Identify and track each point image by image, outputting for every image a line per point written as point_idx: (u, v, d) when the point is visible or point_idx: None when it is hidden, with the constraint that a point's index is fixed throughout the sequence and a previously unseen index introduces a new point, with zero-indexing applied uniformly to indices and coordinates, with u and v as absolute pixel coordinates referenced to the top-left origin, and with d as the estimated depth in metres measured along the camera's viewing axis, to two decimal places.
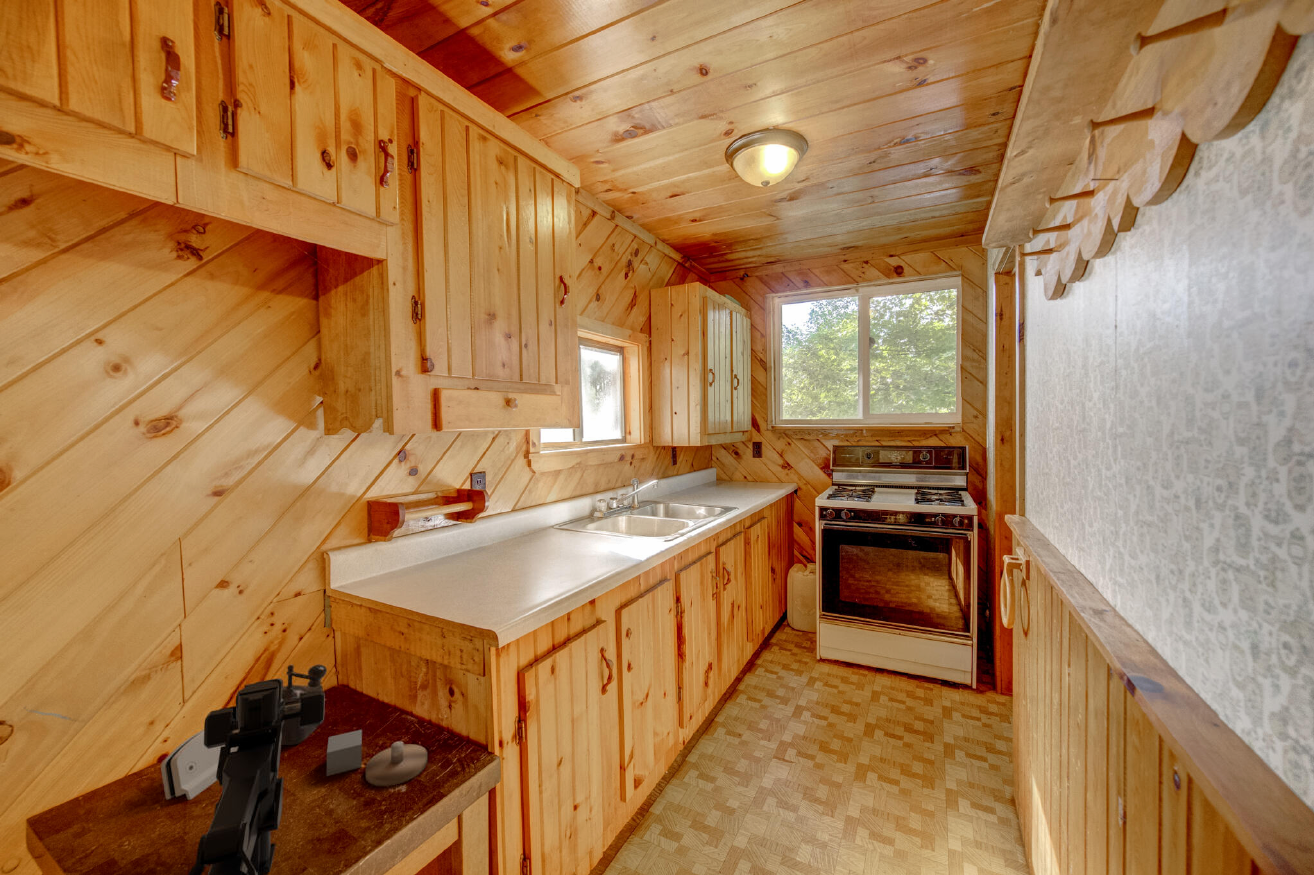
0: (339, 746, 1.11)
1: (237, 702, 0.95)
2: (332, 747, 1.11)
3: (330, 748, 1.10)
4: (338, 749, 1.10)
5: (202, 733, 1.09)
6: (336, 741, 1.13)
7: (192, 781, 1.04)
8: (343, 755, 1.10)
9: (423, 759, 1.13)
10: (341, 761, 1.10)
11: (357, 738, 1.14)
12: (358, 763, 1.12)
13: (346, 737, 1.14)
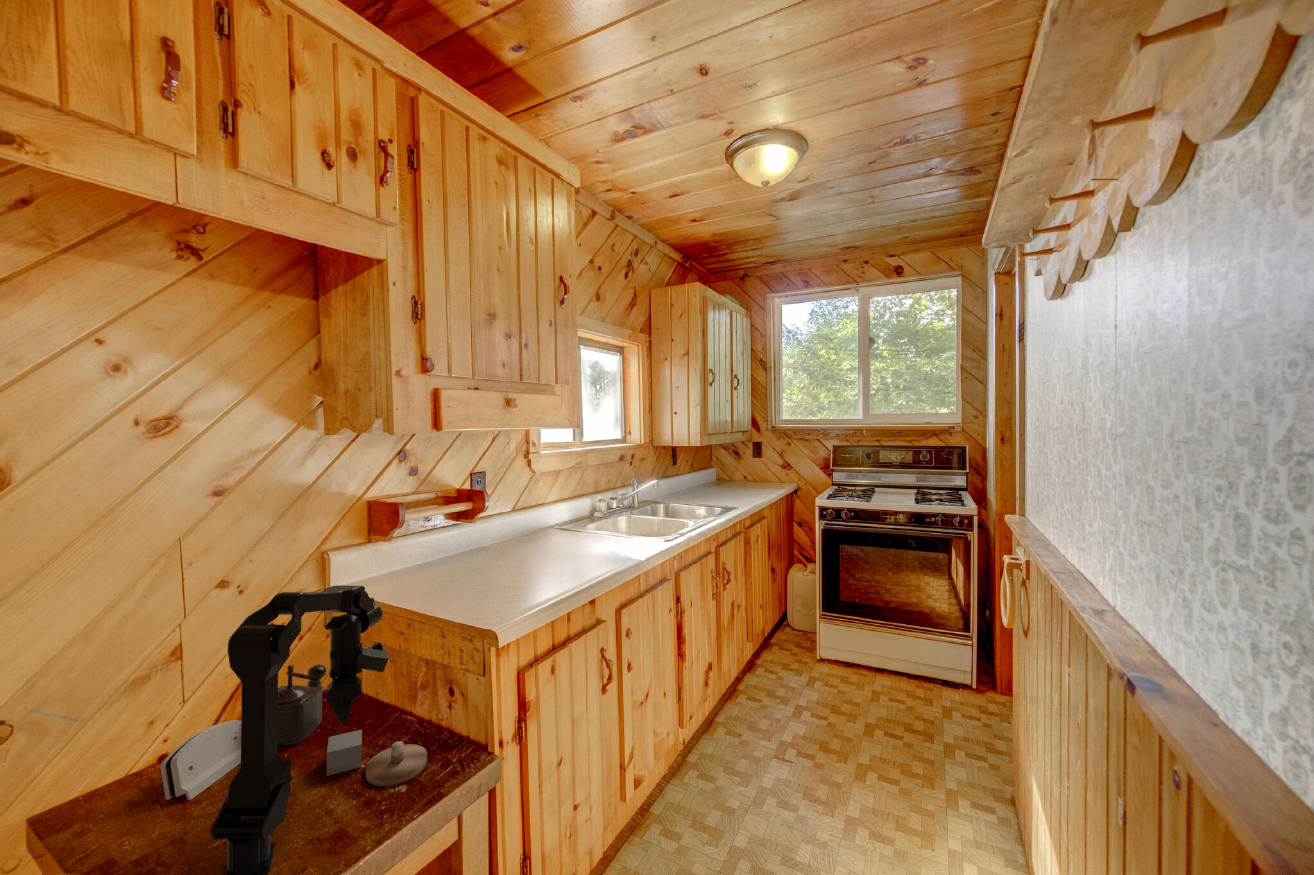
0: (339, 746, 1.11)
1: (377, 642, 1.20)
2: (332, 747, 1.11)
3: (330, 748, 1.10)
4: (338, 749, 1.10)
5: (202, 733, 1.09)
6: (336, 741, 1.13)
7: (192, 781, 1.04)
8: (343, 755, 1.10)
9: (423, 759, 1.13)
10: (341, 761, 1.10)
11: (357, 738, 1.14)
12: (358, 763, 1.12)
13: (346, 737, 1.14)
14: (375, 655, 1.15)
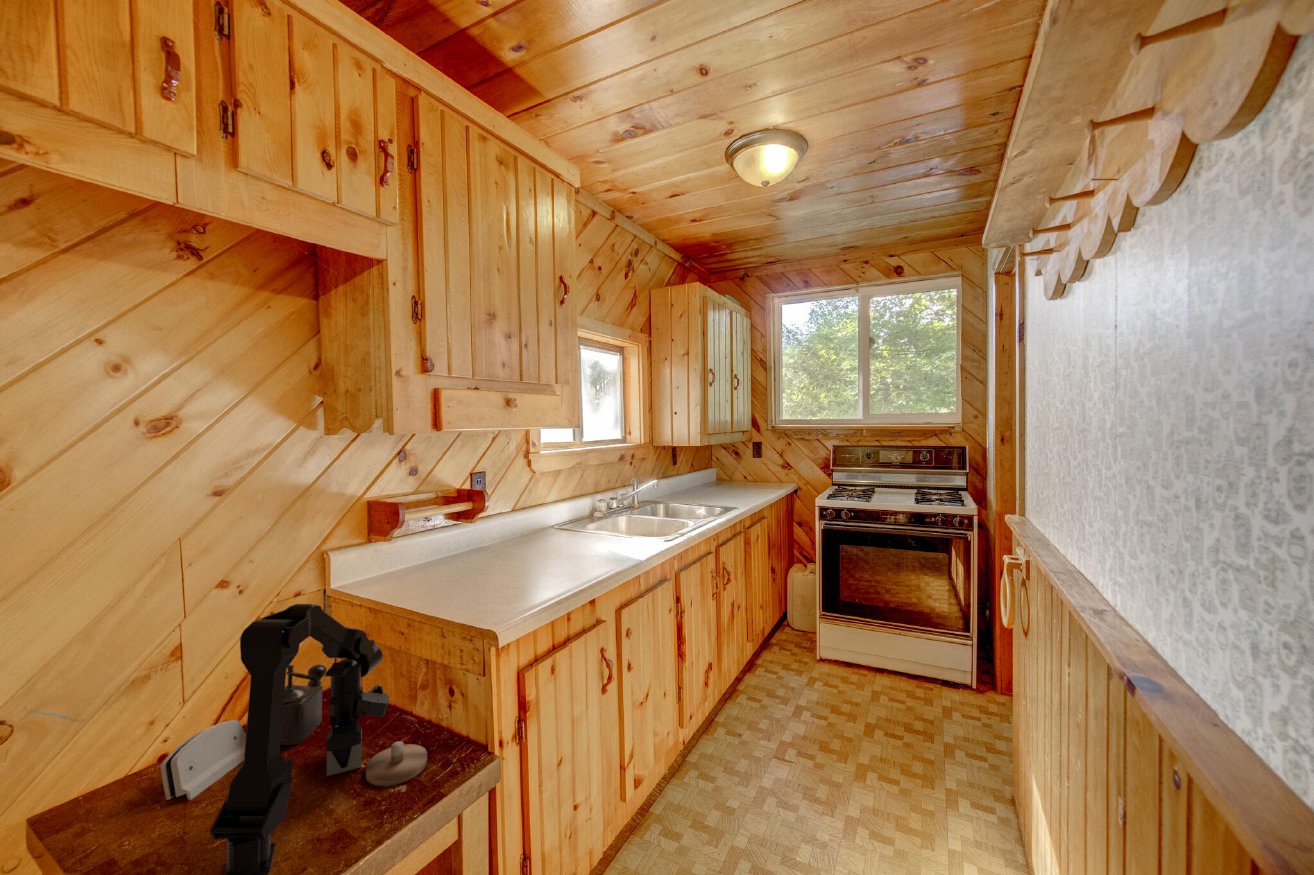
0: None
1: (377, 685, 1.20)
2: None
3: None
4: None
5: (201, 733, 1.09)
6: None
7: (192, 781, 1.03)
8: None
9: (423, 759, 1.13)
10: None
11: None
12: (358, 763, 1.12)
13: None
14: (375, 700, 1.15)
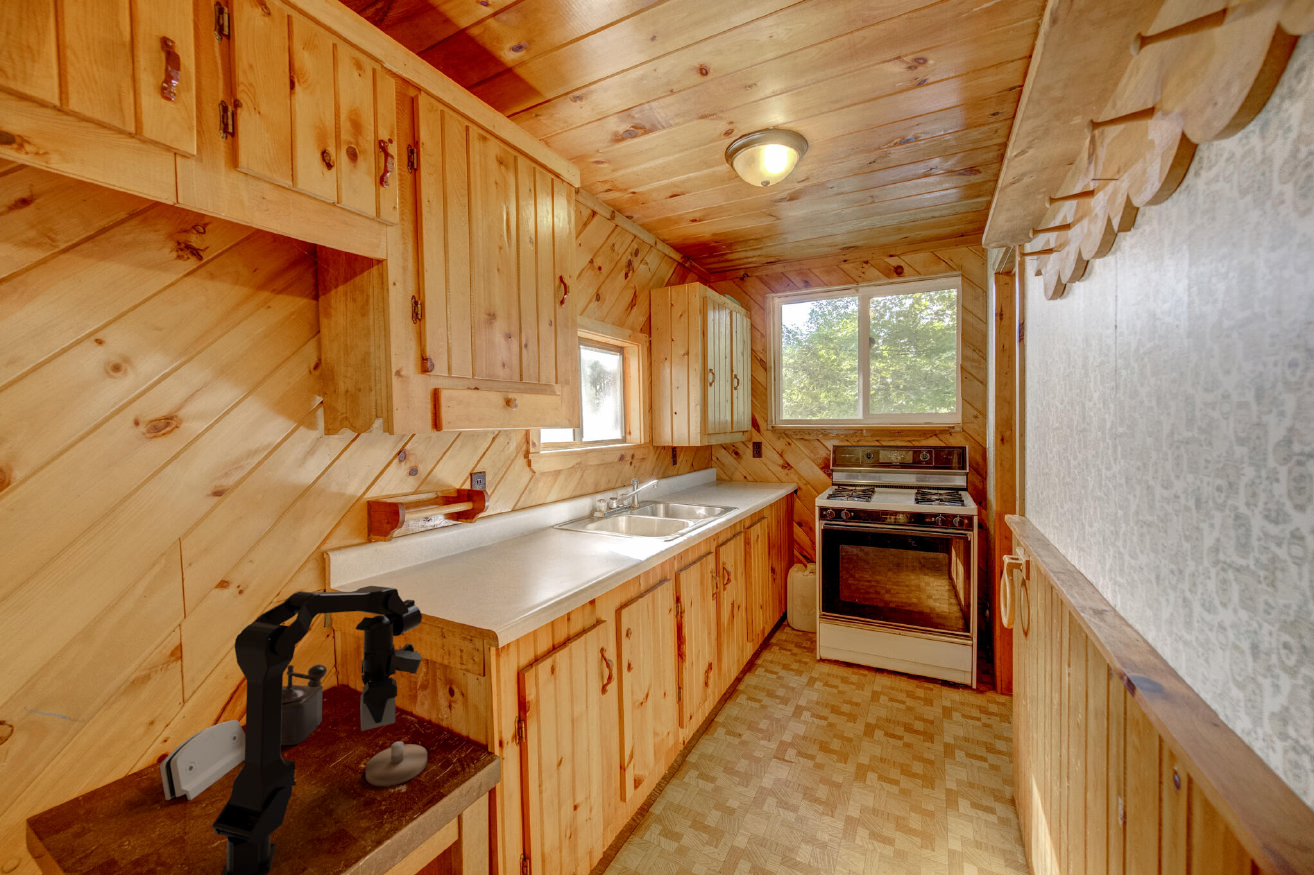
0: None
1: (407, 644, 1.19)
2: None
3: None
4: None
5: (201, 734, 1.09)
6: None
7: (192, 781, 1.03)
8: None
9: (423, 759, 1.13)
10: None
11: None
12: (392, 719, 1.11)
13: None
14: (408, 656, 1.14)
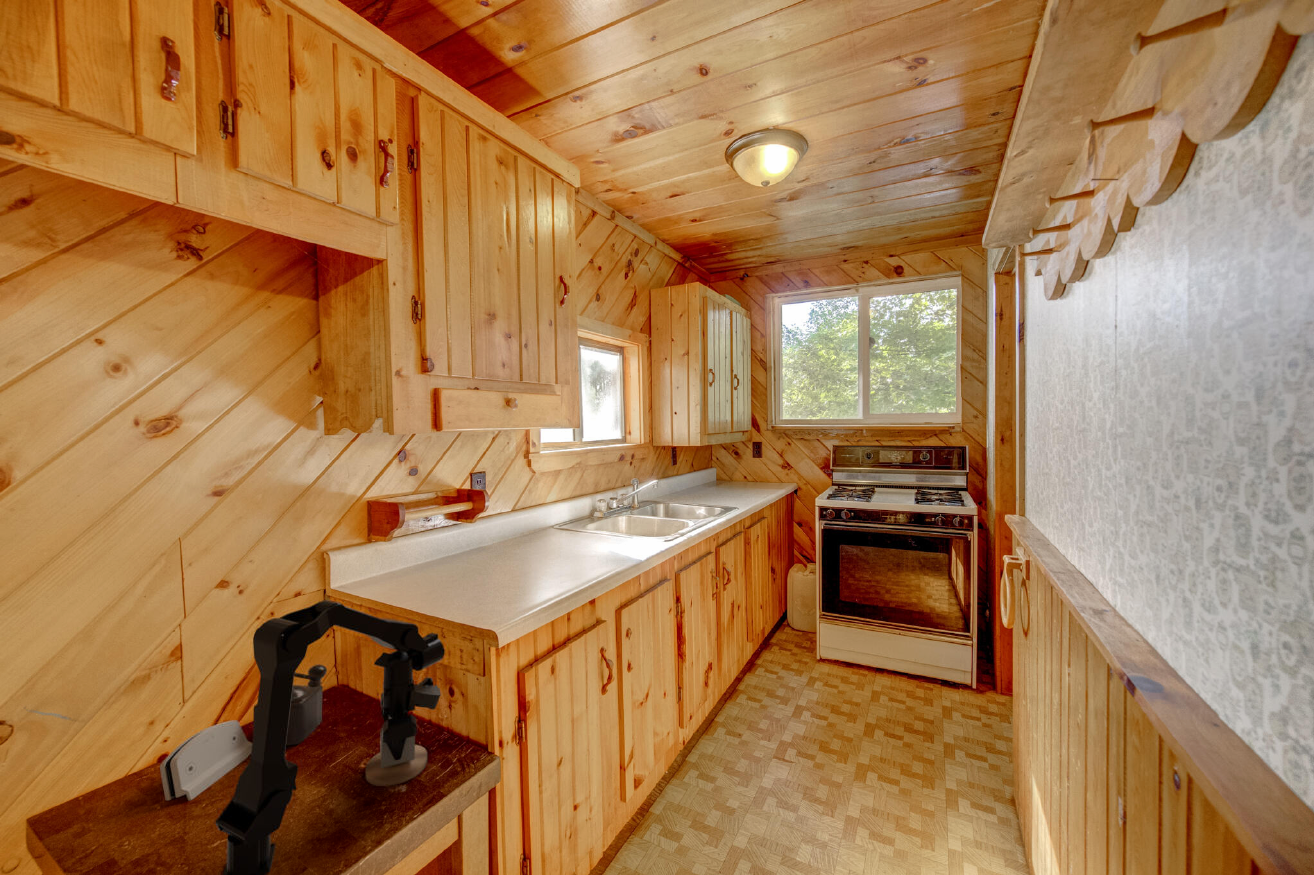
0: None
1: (427, 677, 1.19)
2: None
3: None
4: None
5: (201, 734, 1.08)
6: None
7: (192, 782, 1.03)
8: None
9: (423, 759, 1.13)
10: None
11: None
12: (411, 755, 1.11)
13: None
14: (427, 692, 1.14)
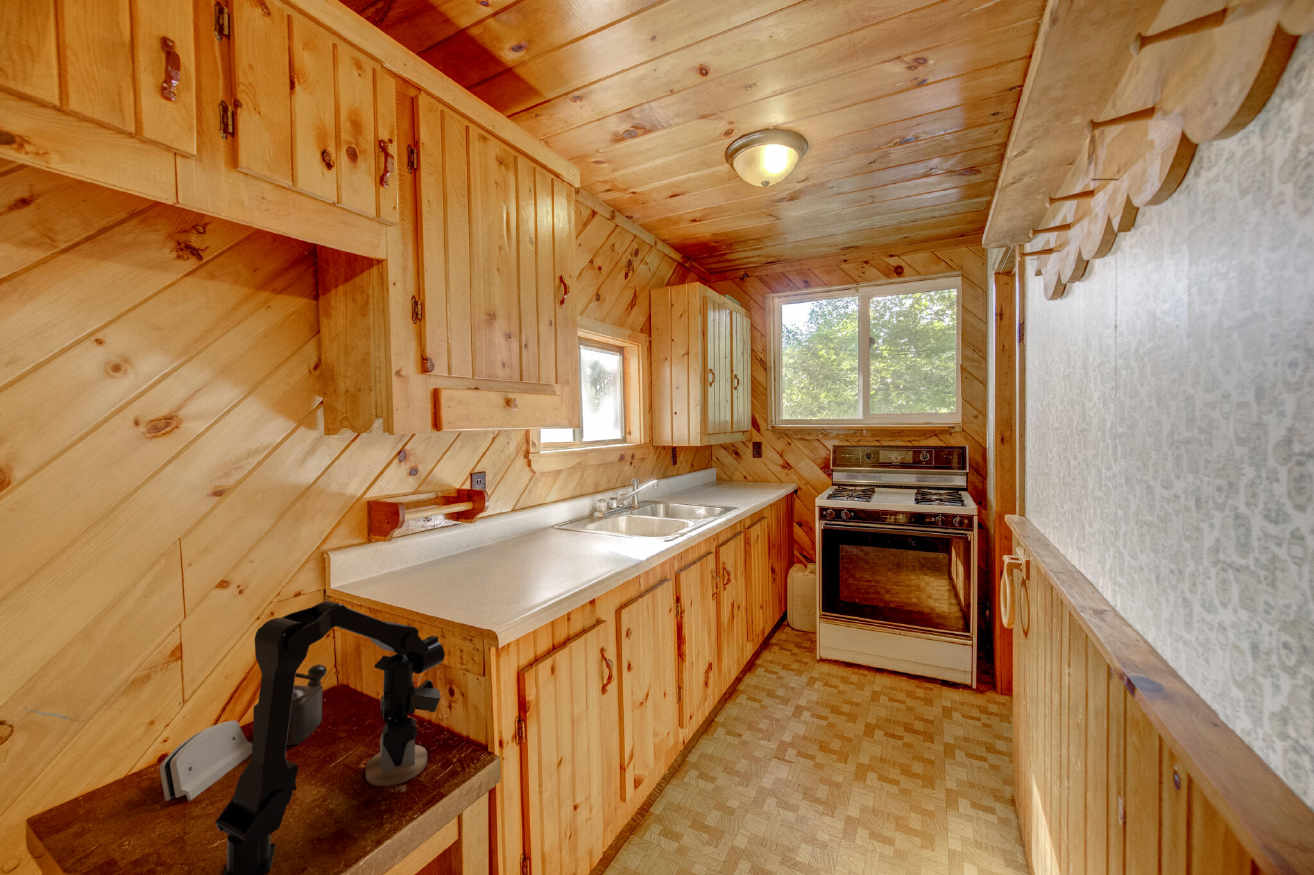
0: None
1: (427, 680, 1.19)
2: None
3: None
4: None
5: (200, 734, 1.08)
6: None
7: (192, 782, 1.03)
8: None
9: (423, 759, 1.13)
10: None
11: None
12: (411, 760, 1.11)
13: None
14: (427, 695, 1.14)
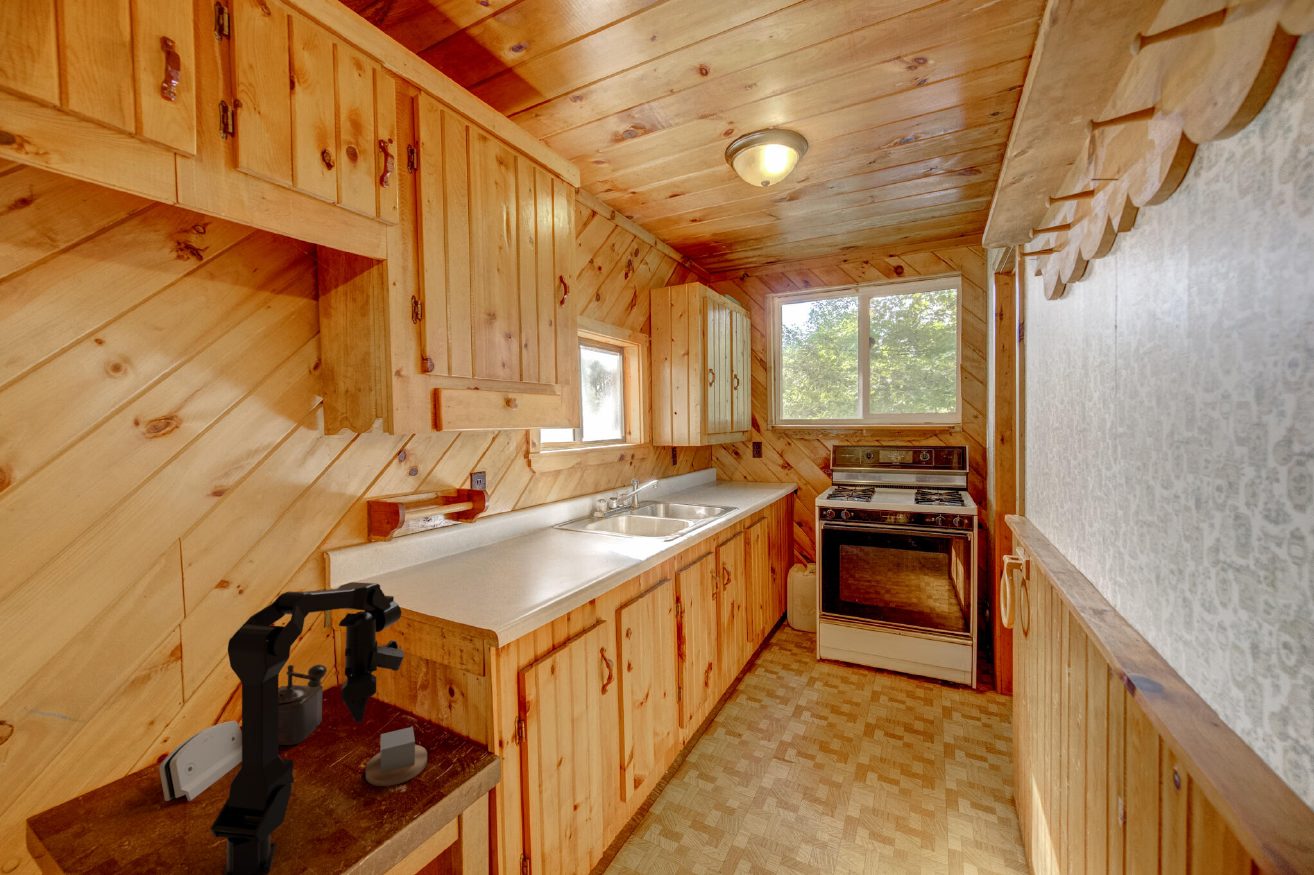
0: (392, 743, 1.10)
1: (391, 640, 1.19)
2: (386, 744, 1.10)
3: (384, 745, 1.09)
4: (392, 746, 1.09)
5: (200, 734, 1.08)
6: (389, 738, 1.12)
7: (192, 782, 1.03)
8: (397, 753, 1.09)
9: (423, 759, 1.13)
10: (395, 759, 1.09)
11: (409, 735, 1.13)
12: (411, 760, 1.11)
13: (398, 734, 1.13)
14: (390, 653, 1.14)
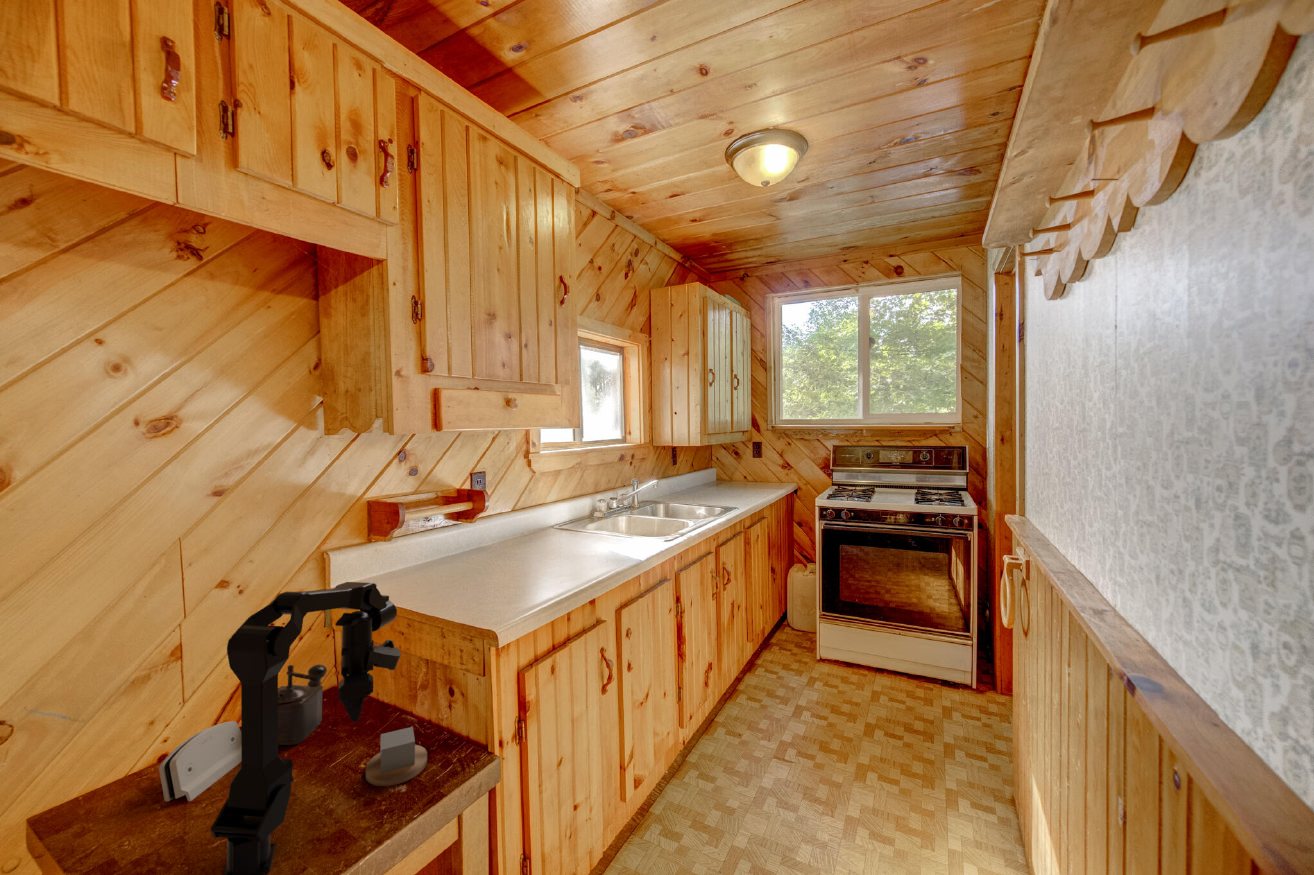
0: (392, 743, 1.10)
1: (388, 640, 1.19)
2: (386, 744, 1.10)
3: (384, 745, 1.09)
4: (392, 746, 1.09)
5: (199, 735, 1.08)
6: (389, 738, 1.12)
7: (191, 783, 1.03)
8: (397, 753, 1.09)
9: (423, 759, 1.13)
10: (395, 759, 1.09)
11: (409, 735, 1.13)
12: (411, 760, 1.11)
13: (398, 734, 1.13)
14: (386, 653, 1.14)
